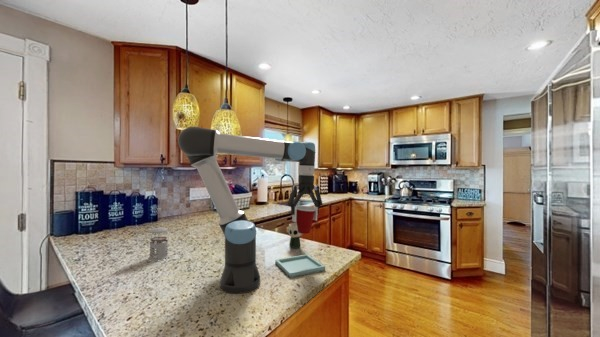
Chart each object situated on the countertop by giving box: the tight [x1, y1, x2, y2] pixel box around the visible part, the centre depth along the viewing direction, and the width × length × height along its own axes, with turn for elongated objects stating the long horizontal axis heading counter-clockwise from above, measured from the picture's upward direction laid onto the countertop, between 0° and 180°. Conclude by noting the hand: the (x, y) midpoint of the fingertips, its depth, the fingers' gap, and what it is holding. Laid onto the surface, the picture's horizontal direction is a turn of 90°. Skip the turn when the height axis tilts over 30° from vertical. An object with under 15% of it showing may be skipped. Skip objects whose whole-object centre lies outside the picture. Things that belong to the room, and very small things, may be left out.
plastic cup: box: [295, 205, 317, 235], centre depth 116 cm, size 11×11×12 cm
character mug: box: [286, 222, 303, 249], centre depth 139 cm, size 11×7×13 cm, turn 66°
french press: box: [147, 207, 170, 262], centre depth 123 cm, size 10×12×25 cm
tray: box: [274, 253, 326, 279], centre depth 111 cm, size 17×17×2 cm
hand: (304, 220), depth 116 cm, fingers closed on plastic cup, 11 cm apart
